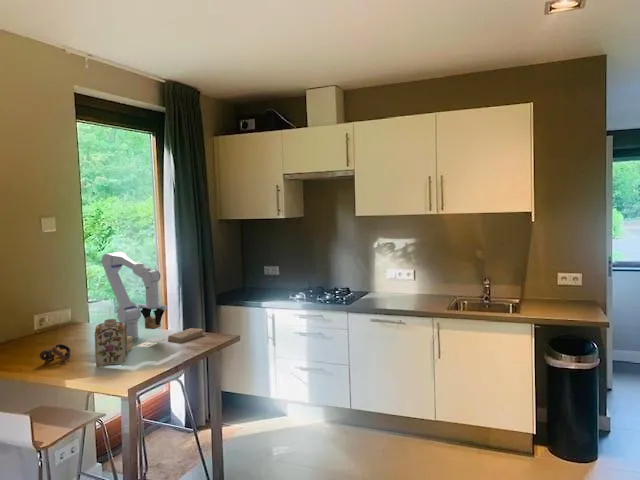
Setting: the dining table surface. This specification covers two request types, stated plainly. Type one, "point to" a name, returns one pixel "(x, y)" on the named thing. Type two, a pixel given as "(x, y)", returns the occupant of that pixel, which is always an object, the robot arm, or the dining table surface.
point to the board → (144, 345)
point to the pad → (154, 340)
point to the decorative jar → (110, 342)
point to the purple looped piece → (56, 352)
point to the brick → (185, 335)
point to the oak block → (129, 342)
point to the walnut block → (151, 323)
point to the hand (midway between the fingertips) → (153, 324)
